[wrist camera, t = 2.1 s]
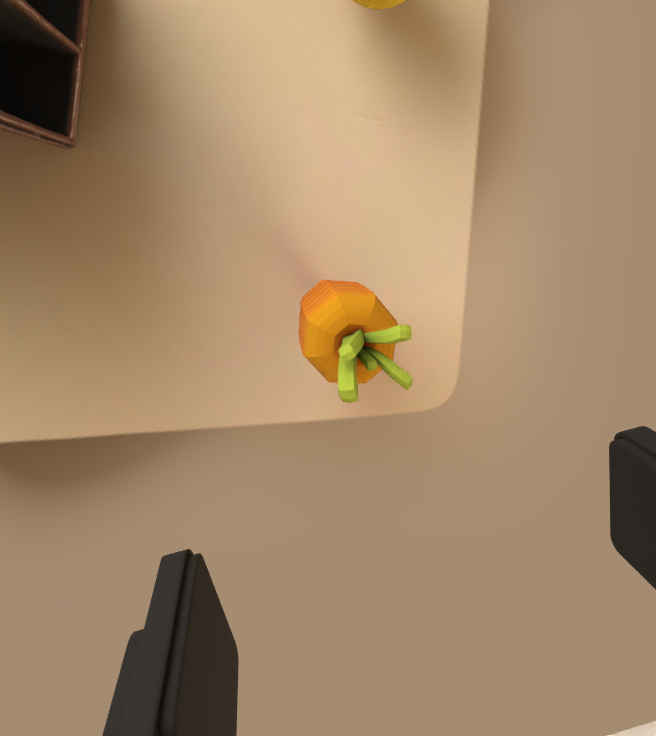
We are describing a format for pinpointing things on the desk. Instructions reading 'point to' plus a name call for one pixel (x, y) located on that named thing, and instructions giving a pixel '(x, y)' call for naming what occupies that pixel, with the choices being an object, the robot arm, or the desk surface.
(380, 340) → the carrot
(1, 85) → the letter holder
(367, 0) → the lemon
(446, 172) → the desk surface
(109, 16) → the desk surface
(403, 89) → the desk surface
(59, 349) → the desk surface
